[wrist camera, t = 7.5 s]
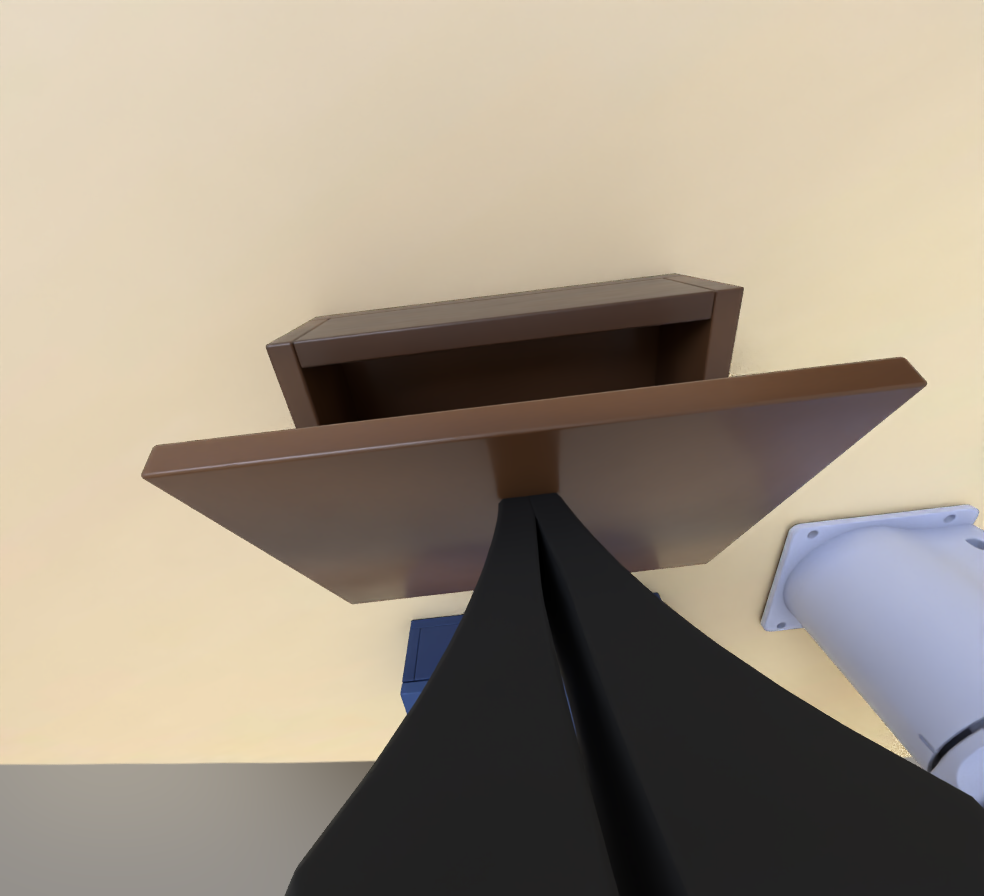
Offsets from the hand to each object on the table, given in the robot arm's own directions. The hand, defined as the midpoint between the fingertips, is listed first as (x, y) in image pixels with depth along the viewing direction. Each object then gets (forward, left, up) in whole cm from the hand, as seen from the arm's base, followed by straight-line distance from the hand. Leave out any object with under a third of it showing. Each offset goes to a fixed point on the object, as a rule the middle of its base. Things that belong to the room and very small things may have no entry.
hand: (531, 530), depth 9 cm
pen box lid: (0, +1, -2) cm, 2 cm away
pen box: (0, +1, -9) cm, 9 cm away
